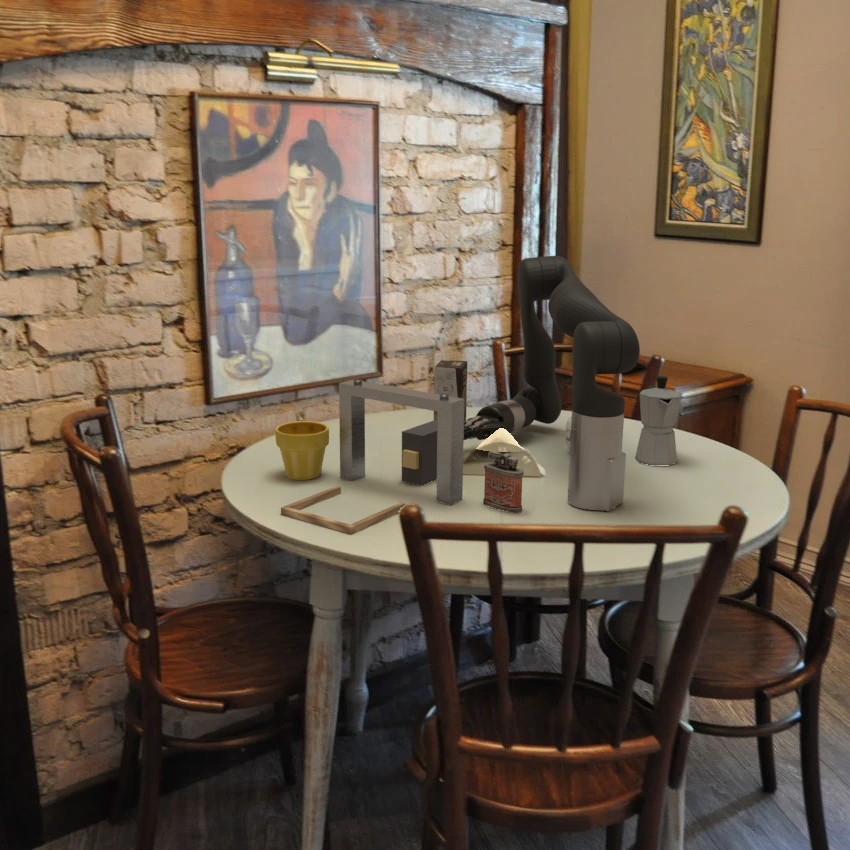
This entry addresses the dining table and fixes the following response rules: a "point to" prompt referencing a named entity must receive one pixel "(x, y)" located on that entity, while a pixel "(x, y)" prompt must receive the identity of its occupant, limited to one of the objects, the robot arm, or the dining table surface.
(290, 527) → the dining table surface
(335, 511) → the dining table surface
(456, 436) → the grey metal arch
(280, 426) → the plant pot
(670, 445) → the coffee maker
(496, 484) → the lighter
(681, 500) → the dining table surface
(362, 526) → the bay
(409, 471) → the dark grey box
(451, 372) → the coffee box
